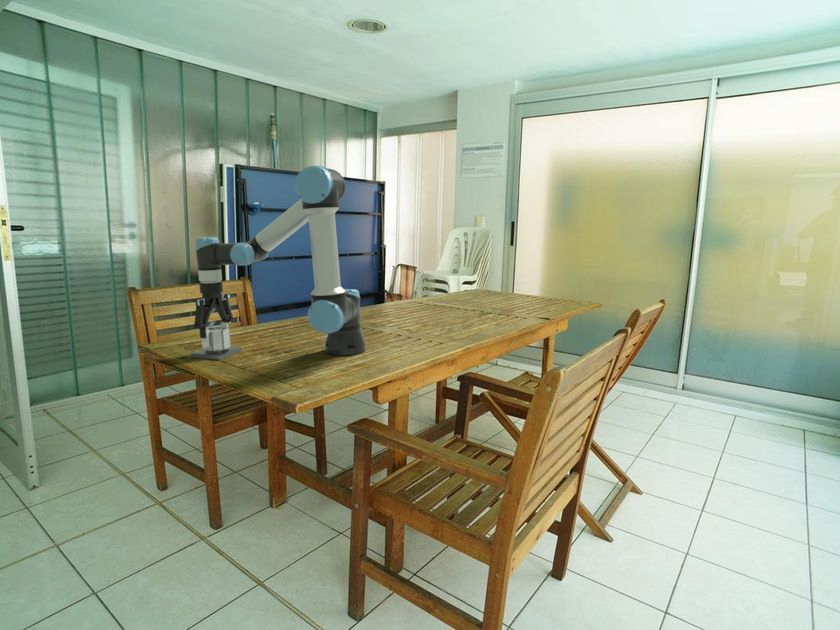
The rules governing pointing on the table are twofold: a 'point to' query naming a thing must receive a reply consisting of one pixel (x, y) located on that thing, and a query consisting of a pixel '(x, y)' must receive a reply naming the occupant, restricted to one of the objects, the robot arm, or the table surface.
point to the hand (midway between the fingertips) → (216, 343)
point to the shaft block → (216, 353)
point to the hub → (218, 338)
